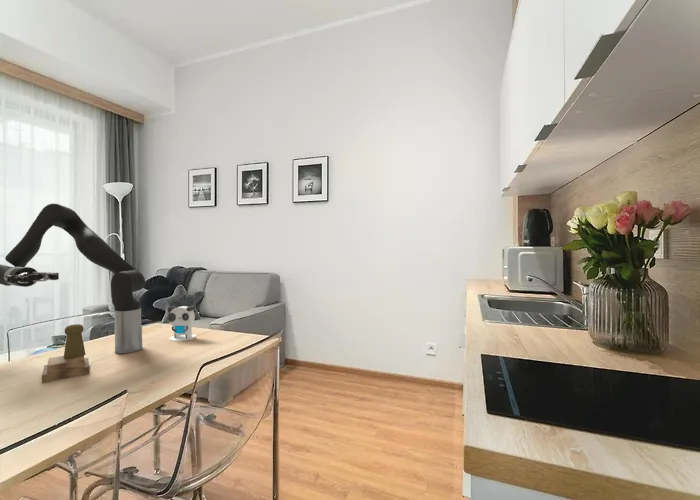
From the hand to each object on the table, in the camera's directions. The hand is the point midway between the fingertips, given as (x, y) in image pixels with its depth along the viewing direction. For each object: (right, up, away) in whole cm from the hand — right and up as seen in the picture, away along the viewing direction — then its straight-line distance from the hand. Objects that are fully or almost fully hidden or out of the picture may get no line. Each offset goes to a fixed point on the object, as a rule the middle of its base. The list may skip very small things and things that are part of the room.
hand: (42, 278), depth 123 cm
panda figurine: (+34, -31, +36) cm, 58 cm away
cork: (+16, -27, -5) cm, 32 cm away
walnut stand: (+16, -32, -8) cm, 37 cm away
